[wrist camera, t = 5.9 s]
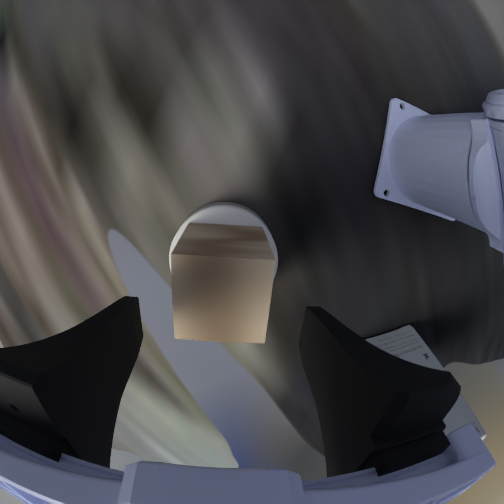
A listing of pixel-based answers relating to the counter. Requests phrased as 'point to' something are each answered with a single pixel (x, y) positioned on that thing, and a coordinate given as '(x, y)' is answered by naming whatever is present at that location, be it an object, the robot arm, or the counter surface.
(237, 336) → the beech block
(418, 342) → the skincare box
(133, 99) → the counter surface
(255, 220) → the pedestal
